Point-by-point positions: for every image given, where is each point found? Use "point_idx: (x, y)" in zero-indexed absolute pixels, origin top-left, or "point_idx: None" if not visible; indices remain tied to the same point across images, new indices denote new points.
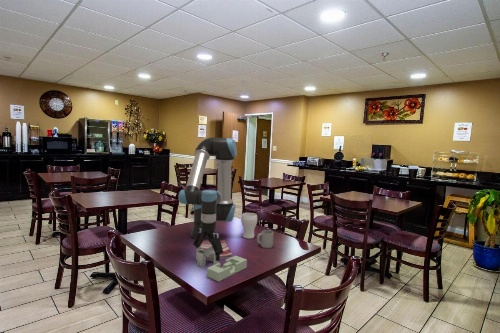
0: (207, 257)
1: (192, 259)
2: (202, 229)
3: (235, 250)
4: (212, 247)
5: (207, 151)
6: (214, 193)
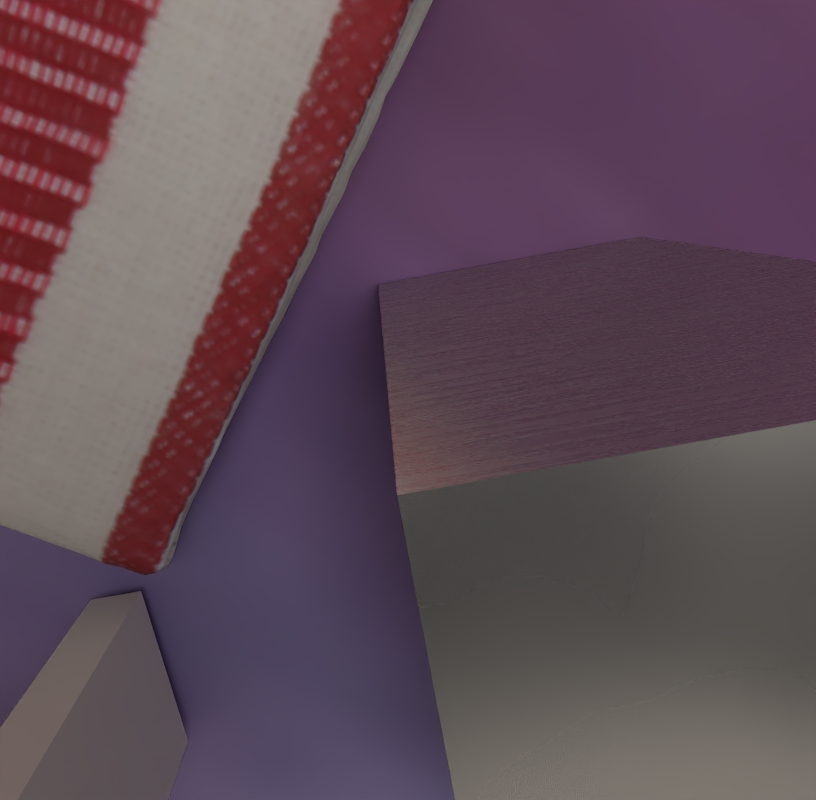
0: (233, 407)
1: None
2: None
3: None
4: (692, 633)
5: None
6: None
